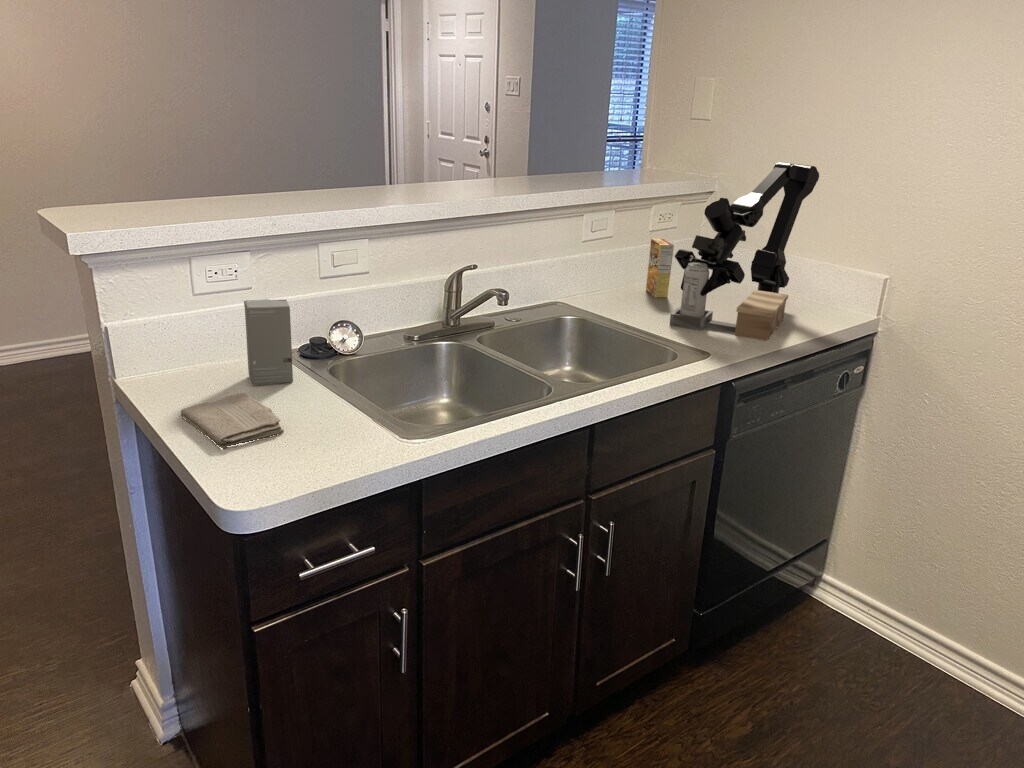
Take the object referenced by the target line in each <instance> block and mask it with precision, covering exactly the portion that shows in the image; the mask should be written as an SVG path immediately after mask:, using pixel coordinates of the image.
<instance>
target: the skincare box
mask: <svg viewBox="0 0 1024 768" xmlns="http://www.w3.org/2000/svg"><path fill="white" fill-rule="evenodd" d="M243 306H244V317H245V336H246V352H247V355H246V356H247V366H248V367H247V368H248V369H247V370H248V371H247V372H248V377H249V380H250V384H251V386H252V387H257V386H266V385H276V384H282V383H283V384H284V383H285V382H286V383H293V382H294V375H293V373H294V372H293V370H294V369H293V352H292V351H293V348H292V347H293V346H292V328H291V327H292V326H291V307H290V304H289V303H288V301H287V299H267V298H266V299H250V300H244V301H243Z"/></svg>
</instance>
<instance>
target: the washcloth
mask: <svg viewBox="0 0 1024 768" xmlns="http://www.w3.org/2000/svg"><path fill="white" fill-rule="evenodd" d="M179 415H180V417H184V418H185V419H186V420H187V421H188V422H190V423H191V424H192V425H193V426H194V427H195V428H197V429H198V430H199V431H200V432H202V433H203V434H204V435H203V434H202V433H201V434H202V435H203V436H205V435H206V436H208V437H209V438H210V439H211V440H213V441H214V442H215V443H216V445H218V446H219V447H221V448H224V449H226V448H225V447H227V446H231V445H236V444H239V443H245V442H249V441H253V440H257V439H262V440H264V439H263V438H266V439H268V438H267V437H269V438H271V437H270V436H273V435H276V436H278V435H277V434H279V435H281V434H283V433H284V432H285V430H284V429H283V428H282V426H281V425H280V422H281V419H280V418H279V417H278V416H277V415H275V413H274V412H273V411H272V409H271V407H267V406H265V405H264V404H262V403H261V402H260V401H258V400H256V399H254V398H252V397H251V396H249V395H248V394H247V393H243V392H241V393H236V394H232V395H228V396H225V397H222V398H220V399H216V400H213V401H207V402H203V403H202V402H201V403H199V404H195V405H191V406H187V407H183V408H182V409H181V411H180V414H179ZM185 419H184V420H185ZM187 421H186V422H187ZM188 422H187V423H188ZM191 424H190V425H191ZM192 425H191V426H192ZM193 426H192V427H193ZM194 427H193V428H194ZM195 428H194V429H195ZM197 429H196V430H197ZM198 430H197V431H198ZM199 431H198V432H199ZM200 432H199V433H200ZM206 436H205V437H206ZM273 437H274V436H273ZM209 438H208V439H209ZM210 439H209V440H210ZM211 440H210V441H211ZM216 445H215V446H216Z"/></svg>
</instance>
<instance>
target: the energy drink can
mask: <svg viewBox="0 0 1024 768" xmlns="http://www.w3.org/2000/svg"><path fill="white" fill-rule="evenodd" d="M707 266H708V265H707V264H705V263H698V262H692V263H688V266H687V268H686V269H685V275H684V274H683V276H684V284H683V290H682V294H681V295H682V296H681V302H680V303H681V304H680V306H681V311H680V315H686V316H692V317H698V318H702V317H704V313H705V310H706V304H707V296H708V295H707V294H708V293H707V294H706V295H704V296H701V294H700V293H701V291H702V289H703V287H704V286H705V284H706V283H707V281H708V280H709V278H710V269H708V267H707Z"/></svg>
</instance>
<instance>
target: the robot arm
mask: <svg viewBox="0 0 1024 768" xmlns="http://www.w3.org/2000/svg"><path fill="white" fill-rule="evenodd" d="M819 179H820V172H819V171H818V168H817V167H816V166H814V165H809V164H800V163H789V162H781V161H780V162H776V163H775V165H774V166H773V168H772V170H771V171H770V172H769V173H768V174H767V175H766V177H764V179H762V181H761V182H760V183H759V184H758V185H756V187H755V188H754V189H753V190H752V191H751V192H750V193H748V194H747V195H743V196H741V197H739V198H738V199H736V200H735V201H734V202H732V203H731V204H730V201H729V198H726V197H720V198H719V200H715V201H713V202H711V203H710V204H708V205H706V207H705V209H704V217H705V218H706V219H707V221H708V223H709V225H710V227H711V228H712V230H713V231H715V232H716V235H715V236H714V238H711V237H708V236H707V237H706V236H703V235H697V234H696V235H695V237H694V240H693V242H692V245H691V248H693V249H695V250H697V255H698V256H699V257H700V258H698V257H696V255H695V254H694V251H691V250H687V249H685V248H684V249H682V248H681V249H678V250H677V251H676V253H675V255H674V258H675V260H676V261H677V263H678V264H679V266H680V267H681V268H682V269H683V270H684V271H683V276H682V281H681V284H680V290H681V291H683V284H684V275H685V269H686V268H687V266H688V263H692V262H698V263H705V264H707V265H708V266H707V267H708V270H712V271H711V275H710V276H709V280H708V281H707V283H706V284H705V286H704V287H703V289H702V291H701V293H700V294H701V296H704V295H706V294H709V293H710V292H712V291H715V290H717V289H718V288H720V287H722V286H725V285H729V284H731V282H732V283H736V284H741V283H742V282H743V280H744V279H745V277H746V275H745V272H744V270H743V268H742V266H741V264H740V262H739V261H734V260H729V259H732V258H733V257H734V254H733V251H734V250H735V248H736V247H737V246H738V244H739V242H740V241H741V242H746V241H747V236H746V230H744V229H743V228H742V227H746V228H747V227H748V228H753V227H755V226H756V225H757V224H758V223H759V221H760V220H761V218H762V217H763V216H764V208H765V207H766V206H767V204H769V202H770V201H771V200H772V199H773V198H774V197H775V196H776V194H778V193H779V192H780V190H781V189H783V191H784V192H783V193H784V196H783V198H782V202H781V204H780V207H779V209H778V213H777V215H776V218H775V220H774V223H773V226H772V228H771V231H770V234H769V237H768V239H767V242H766V245H765V246H764V247H763V248H762V249H759V248H758V249H756V251H755V253H754V257H753V259H752V261H751V265H750V275H751V282H752V283H753V282H754V283H757V285H758V286H757V290H759V291H766V292H773V293H779V294H780V289H781V288H786V287H787V286H788V284H789V281H790V277H789V275H788V273H787V271H786V269H785V268H786V263H787V259H786V254H785V249H786V247H787V244H788V241H789V239H790V235H791V233H792V232H793V231H792V230H793V228H794V225H795V222H796V219H797V216H798V214H799V211H800V208H801V206H802V203H803V201H804V200H805V198H807V197H808V196H810V194H812V192H813V190H814V189H815V186H816V184H817V183H818V182H819ZM741 226H742V227H741Z"/></svg>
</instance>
